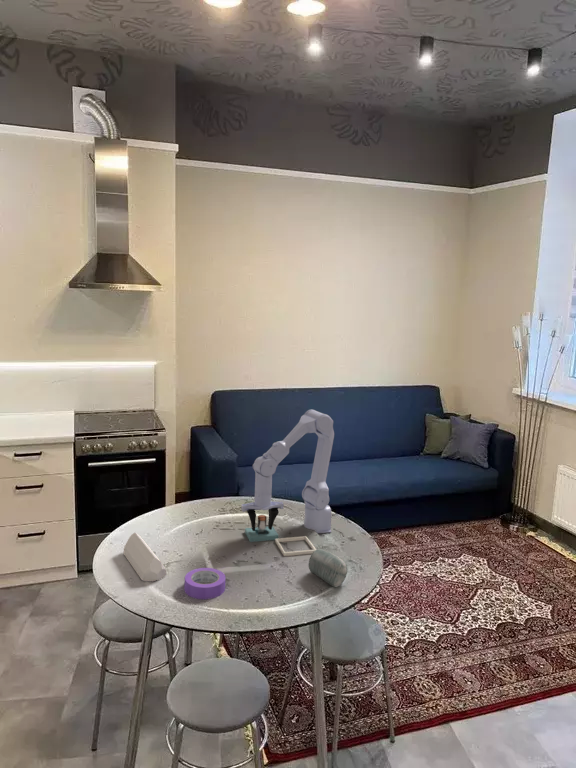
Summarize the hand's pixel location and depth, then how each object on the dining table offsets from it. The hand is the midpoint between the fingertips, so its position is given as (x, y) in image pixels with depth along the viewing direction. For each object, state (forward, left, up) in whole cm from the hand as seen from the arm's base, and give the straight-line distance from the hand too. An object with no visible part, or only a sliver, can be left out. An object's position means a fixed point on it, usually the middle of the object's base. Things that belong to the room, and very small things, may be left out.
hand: (261, 529), depth 203 cm
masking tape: (+24, +29, -4) cm, 38 cm away
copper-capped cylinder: (0, 0, -2) cm, 2 cm away
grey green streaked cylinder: (-13, +31, -4) cm, 34 cm away
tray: (-9, +11, -4) cm, 15 cm away
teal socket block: (0, 0, -4) cm, 4 cm away
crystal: (+40, +11, -4) cm, 42 cm away
